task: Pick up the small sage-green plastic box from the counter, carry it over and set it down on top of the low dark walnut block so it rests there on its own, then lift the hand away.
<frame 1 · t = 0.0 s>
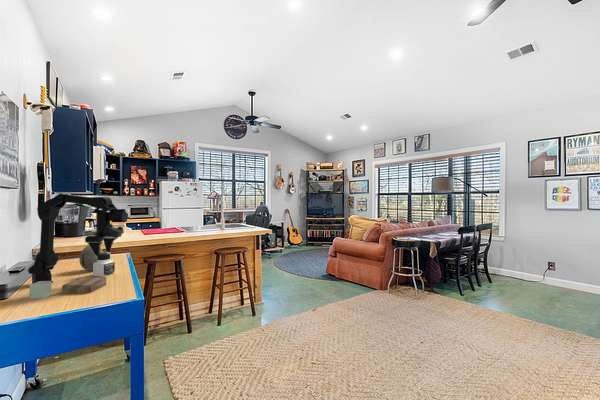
hand: (103, 253, 144), 15 cm above the table, tool pointing down, fingers open, 9 cm apart
medicine bottle: (104, 275, 160), on the table
decorative egg: (92, 270, 169), on the table
sage pill box: (40, 296, 125), on the table
walnut block: (85, 289, 136), on the table
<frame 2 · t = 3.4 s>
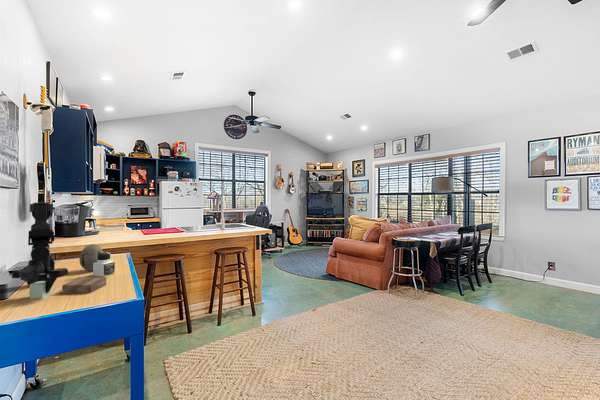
hand: (40, 293, 125), 2 cm above the table, tool pointing down, fingers closed on sage pill box, 5 cm apart
sage pill box: (40, 296, 125), on the table, touching gripper
everything else where it was.
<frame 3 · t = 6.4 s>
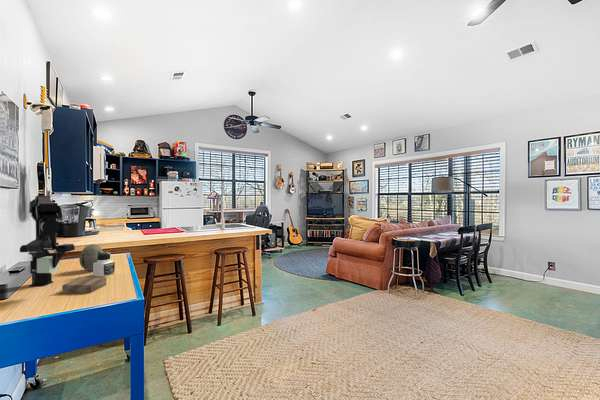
hand: (47, 267, 127), 12 cm above the table, tool pointing down, fingers closed on sage pill box, 5 cm apart
sage pill box: (47, 271, 127), point 10 cm above the table, touching gripper
everything else where it was.
when the fingers open (7 cm above the table, at t = 9.5 s): sage pill box drops 2 cm, point 4 cm above the table.
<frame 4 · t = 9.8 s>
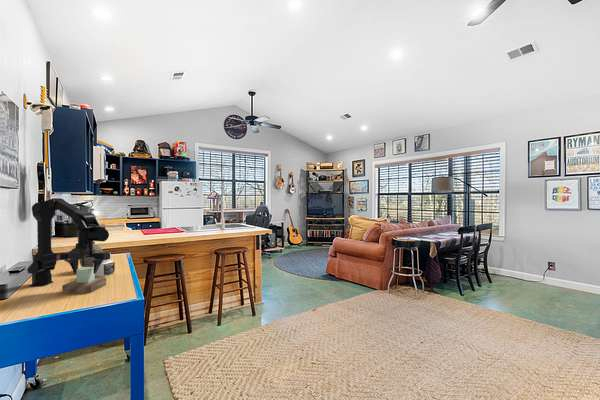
hand: (85, 273, 136), 7 cm above the table, tool pointing down, fingers open, 8 cm apart
sage pill box: (85, 281, 136), point 4 cm above the table
everything else where it was.
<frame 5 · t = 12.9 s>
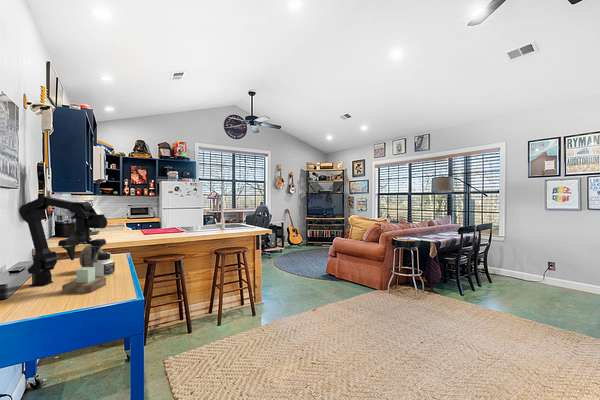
hand: (82, 260, 142), 12 cm above the table, tool pointing down, fingers open, 9 cm apart
sage pill box: (85, 281, 136), point 3 cm above the table, touching walnut block
walnut block: (85, 289, 136), on the table, touching sage pill box
everything else where it was.
at the end: sage pill box inside the target area on the walnut block (0.3 cm from its centre), point 4.0 cm above the walnut block's base; sage pill box tilted 0°; sage pill box touching walnut block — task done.
